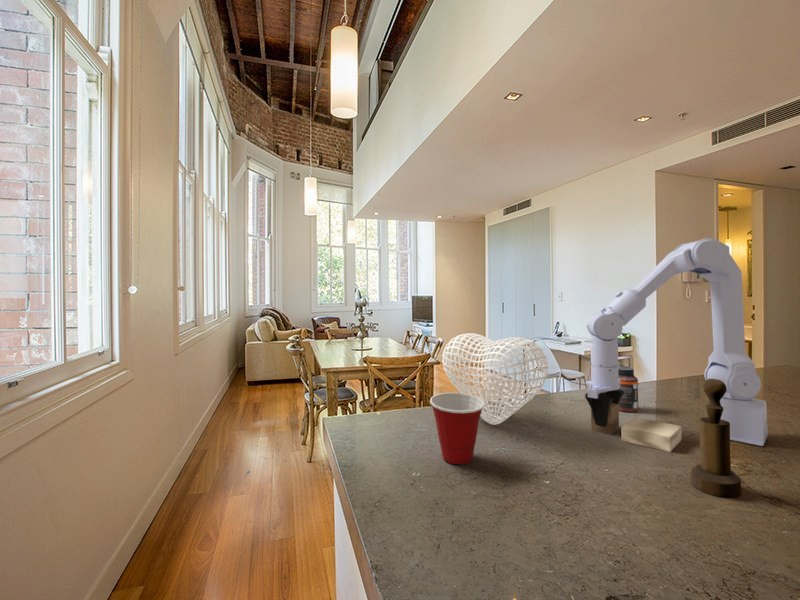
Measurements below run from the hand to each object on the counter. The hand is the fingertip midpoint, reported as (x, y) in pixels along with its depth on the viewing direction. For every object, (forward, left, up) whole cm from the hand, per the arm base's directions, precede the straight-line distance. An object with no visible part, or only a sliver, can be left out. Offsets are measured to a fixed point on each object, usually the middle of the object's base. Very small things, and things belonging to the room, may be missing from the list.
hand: (605, 422), depth 93 cm
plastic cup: (+14, +37, -2) cm, 40 cm away
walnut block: (0, 0, -2) cm, 2 cm away
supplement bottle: (+2, -20, -2) cm, 20 cm away
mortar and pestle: (-23, +16, -2) cm, 28 cm away
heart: (+21, +15, -2) cm, 26 cm away
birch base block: (-10, 0, -2) cm, 10 cm away
